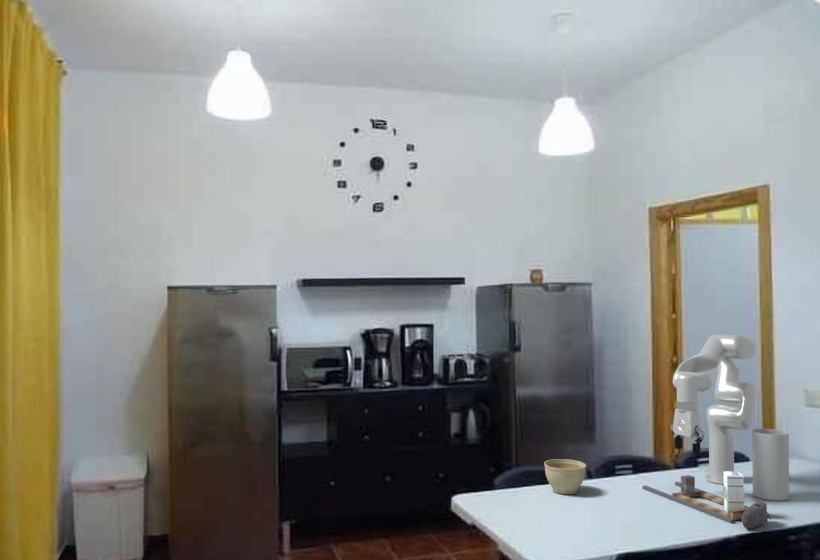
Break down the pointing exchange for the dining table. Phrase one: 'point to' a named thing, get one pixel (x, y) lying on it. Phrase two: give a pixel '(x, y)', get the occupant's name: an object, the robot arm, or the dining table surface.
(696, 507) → the guide rails
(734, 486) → the syrup box
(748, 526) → the perforated stone tool
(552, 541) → the dining table surface
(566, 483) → the planter bowl
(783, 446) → the cylinder vase
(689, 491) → the frame
